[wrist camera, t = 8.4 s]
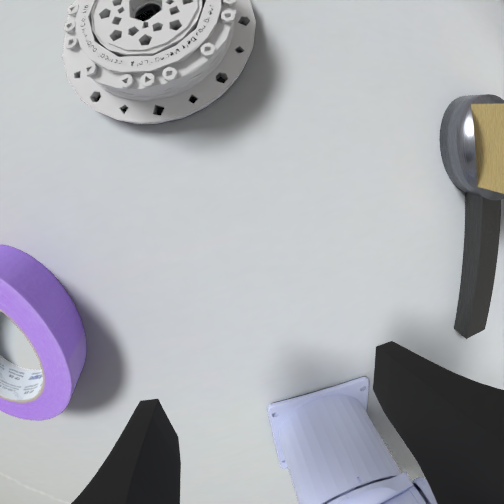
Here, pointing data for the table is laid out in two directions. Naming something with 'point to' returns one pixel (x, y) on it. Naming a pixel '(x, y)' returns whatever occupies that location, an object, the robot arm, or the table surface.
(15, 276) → the masking tape
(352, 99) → the table surface
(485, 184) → the open wooden box
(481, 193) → the ratchet
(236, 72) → the mechanical component
